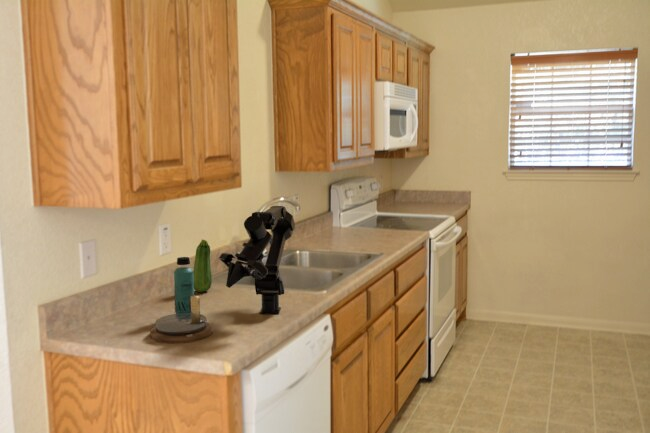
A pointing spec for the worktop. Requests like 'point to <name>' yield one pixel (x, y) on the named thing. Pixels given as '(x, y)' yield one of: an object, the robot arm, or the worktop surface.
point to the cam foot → (183, 321)
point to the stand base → (181, 336)
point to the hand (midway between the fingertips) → (227, 286)
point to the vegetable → (202, 268)
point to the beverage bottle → (183, 286)
